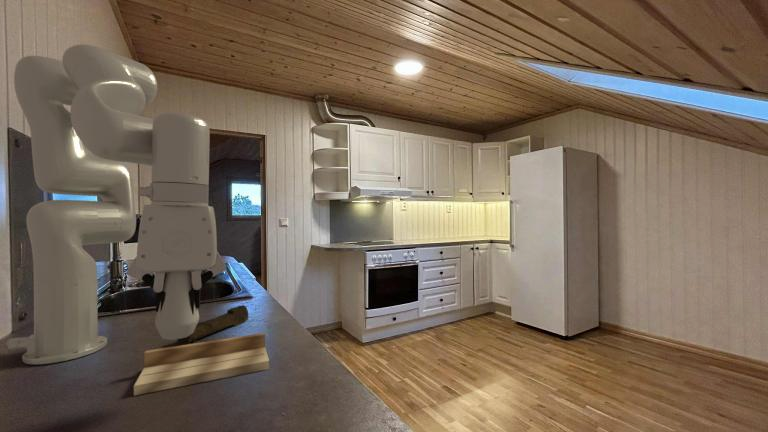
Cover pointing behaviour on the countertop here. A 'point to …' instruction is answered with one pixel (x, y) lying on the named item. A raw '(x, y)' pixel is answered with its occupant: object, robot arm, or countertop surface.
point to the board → (201, 362)
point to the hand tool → (217, 324)
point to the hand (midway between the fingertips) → (178, 313)
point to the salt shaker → (177, 307)
